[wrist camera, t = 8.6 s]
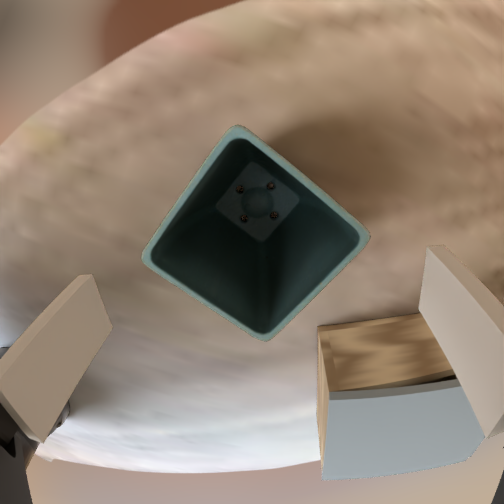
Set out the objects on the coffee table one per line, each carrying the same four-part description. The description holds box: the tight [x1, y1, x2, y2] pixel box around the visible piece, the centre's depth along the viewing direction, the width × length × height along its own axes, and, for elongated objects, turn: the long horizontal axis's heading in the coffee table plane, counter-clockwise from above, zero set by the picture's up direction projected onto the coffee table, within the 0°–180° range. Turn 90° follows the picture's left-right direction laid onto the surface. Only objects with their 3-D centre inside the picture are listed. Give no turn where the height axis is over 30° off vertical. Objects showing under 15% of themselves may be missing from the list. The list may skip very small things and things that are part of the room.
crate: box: [317, 313, 458, 470], centre depth 27 cm, size 16×14×8 cm
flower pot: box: [141, 125, 371, 341], centre depth 20 cm, size 9×9×9 cm
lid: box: [322, 379, 485, 480], centre depth 22 cm, size 17×14×2 cm
